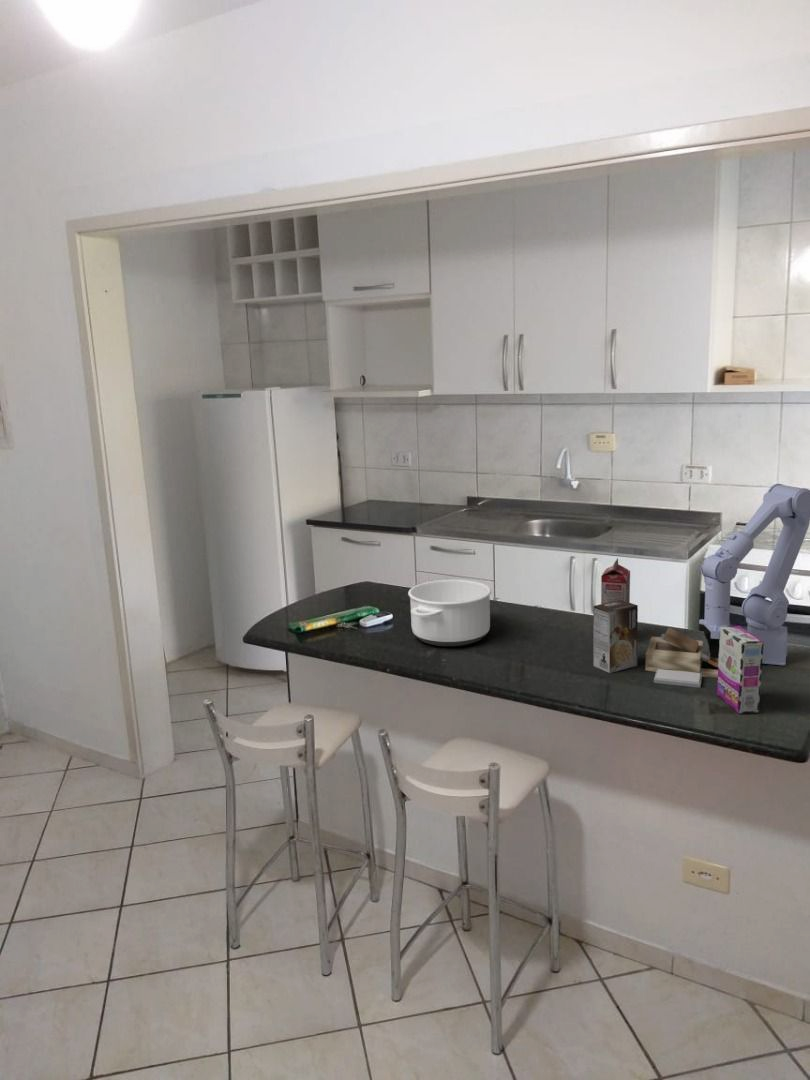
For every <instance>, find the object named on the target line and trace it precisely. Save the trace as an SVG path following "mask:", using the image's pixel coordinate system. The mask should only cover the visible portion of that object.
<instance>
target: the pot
mask: <svg viewBox="0 0 810 1080" xmlns="http://www.w3.org/2000/svg"><path fill="white" fill-rule="evenodd" d="M491 594H492V588H491V587H490V586H489V585H487V584H485V583H482V582H479V581H474V580H468V579H439V580H438V579H437V580H432V581H425V582H423V583H420V584H417V585H414V586H413V587H411V588H410V589H409V590H408V593H407V596H408V597H409V599H410V600H409V601H410V602H409V603H410V619H411V621H410V622H411V623H410V626H411V630H412V633H413V634H414V636H415V637H416V638H417V639H418V640H419V641H421V642H423V643H426V644H427V645H428V644H429V645H433V646H439V647H460V646H461V647H462V646H466V645H470V644H473V643H477V642H479V641H481V640H482V639H483V638H485V637H486V636H487V634H488V633H489V632H490V628H491V609H490V608H491V605H490V603H491V602H490V601H491V600H490V599H491V598H490V595H491Z"/></svg>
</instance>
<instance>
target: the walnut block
mask: <svg viewBox="0 0 810 1080" xmlns="http://www.w3.org/2000/svg"><path fill="white" fill-rule="evenodd" d="M664 635H665V636H664V640H666V641H668V642H670V643H672V644H674V645H676V646H678V647H680V648H682V649H684V650H686V651H688V652H690V653H695V652H696V650H697V648H698V644H699V642H698V641H699V640H697V641H696V640H695V639H693V638H691V637H690V636H688V635H686V634H684V633H681V631H678V630H675V629H673V628H671V627H668V628H667V629H666V632H665V633H664Z"/></svg>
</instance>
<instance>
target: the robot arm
mask: <svg viewBox="0 0 810 1080" xmlns="http://www.w3.org/2000/svg"><path fill="white" fill-rule="evenodd" d="M778 518H779V519H780V521H781V523H782V528H781V531H780V534H779V536H778V539H777V541H776V544H775V547H774V549H773V552H772V554H771V557H770V559H769V562H768V564H767V567H766V569H765V572H764V575H763V578H762V580H761V582H760V584H757V585H756V586H755V587H753V588H751V589H750V592H749V593H748V595H747V597H746V598H744V599H743V602H742V604H741V613H742V615H743V617H744V618H745V623H746V624H747V626H746V627H747V629H746V631H748V632H749V633H751V634H752V635H754V636H755V637H757V638H759V639H760V640H762V641H763V642H764V643H763V658H762V665H763V664H765V665H766V664H767V665H775V666H786V665H787V663H786V662H787V657H788V648H787V647H788V646H787V645H788V626H784V624H785V622H786V620H787V618H788V617H787V616H788V607H789V604H790V601H789V600H788V597H787V596H786V594H785V589H786V586H787V583H788V580H789V579H790V576H791V574H792V572H793V571H792V570H793V569H794V565H795V563H796V561H797V558H798V555H799V552H800V550H801V548H802V545H803V543H804V540H805V537H806V535H807V532H808V530H809V527H810V489H808V488H804V487H803V488H802V487H795V486H790V485H785V484H782V483H775V484H773V485H771V486H770V487H769V489H768V490H767V492H766V493H764V494H763V497H762V503H761V505H760V506H759V507H758V509H757V510H756V511H755V512H754V514H753V515H752V517H751V518H750V520H748V522H747V523H746V525H744V527H743V528H742V529H741V530H740V531H734V532H733V533H731V534H730V535H728V537H727V538H728V539H726V541H725V542H724V543H723V544H722V545H721V546H720V547H719V548H718V549H717V550H716V551H715V553H714V554H711V555H708V556H706V557H705V558H704V559H703V561H702V564H701V566H699V567H700V573H701V574H702V576H703V583H704V584H705V585H704V588H705V590H704V591H705V592H704V619H703V618H702V619H701V618H700V619H699V622H698V624H700V625H703V626H704V630H703V634H704V637H705V639H706V640H707V645H708V650H709V654H710V656H711V657H712V658H718V659H719V641H720V627H730V626H731V621H730V613H731V612H730V609H731V607H730V606H731V584H732V583H731V582H732V580H733V579H735V577H736V576H737V573H738V568H739V567H740V563H741V562H742V561H743V560H744V559H745V558H746V556H747V555H748V554H749V553H750V552H751V551H752V550H753V548H754V540H755V539H756V538H757V537H758V536H759V535H760V534H761V533H762V532H763V531H764V530H765V529H767V527H768V526H769V525H770V524H771V523H772V522H773V521H774V520H775V519H778ZM767 598H768V599H767Z"/></svg>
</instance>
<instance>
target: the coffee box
mask: <svg viewBox="0 0 810 1080" xmlns="http://www.w3.org/2000/svg"><path fill="white" fill-rule="evenodd" d="M592 608H593V667H595V668H597V669H600V670H602V671H604V672H606V673H608V674H612V673H615V672H620V671H624V670H627V669H631V668H634V667H637V666H638V631H639V630H638V629H639V628H638V627H639V626H638V623H639V622H638V621H639V619H638V618H639V617H638V615H639V612H638V609H639V606H638V605H637V604H635V603H631V602H630V603H629V602H626V601H623V600H618V601H613V602H609V603H604V604H601V603H600V604H596V605H593V607H592Z"/></svg>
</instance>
